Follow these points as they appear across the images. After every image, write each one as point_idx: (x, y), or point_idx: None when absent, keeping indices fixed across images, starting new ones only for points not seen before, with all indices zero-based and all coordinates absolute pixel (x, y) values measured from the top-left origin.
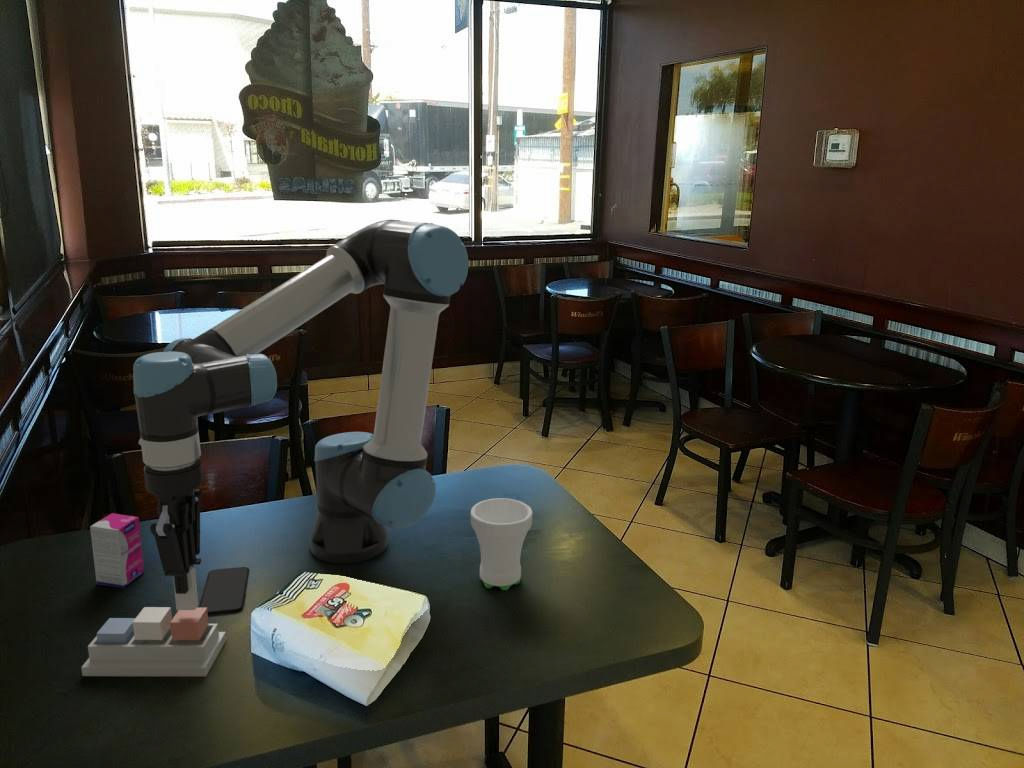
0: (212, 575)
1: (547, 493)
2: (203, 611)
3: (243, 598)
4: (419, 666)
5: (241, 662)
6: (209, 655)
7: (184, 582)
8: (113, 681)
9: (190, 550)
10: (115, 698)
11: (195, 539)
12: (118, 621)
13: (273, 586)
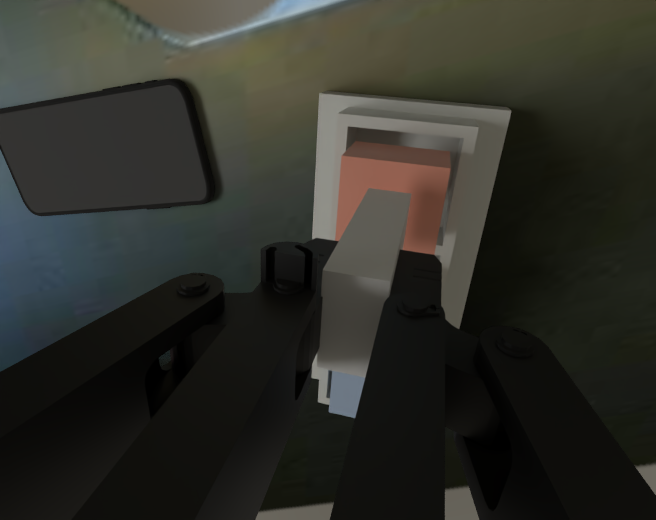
0: (48, 203)
1: None
2: (368, 163)
3: (131, 88)
4: None
5: (451, 4)
6: (443, 113)
7: (438, 289)
8: (474, 331)
9: (283, 359)
10: (547, 314)
11: (140, 357)
12: (346, 391)
13: (51, 6)
